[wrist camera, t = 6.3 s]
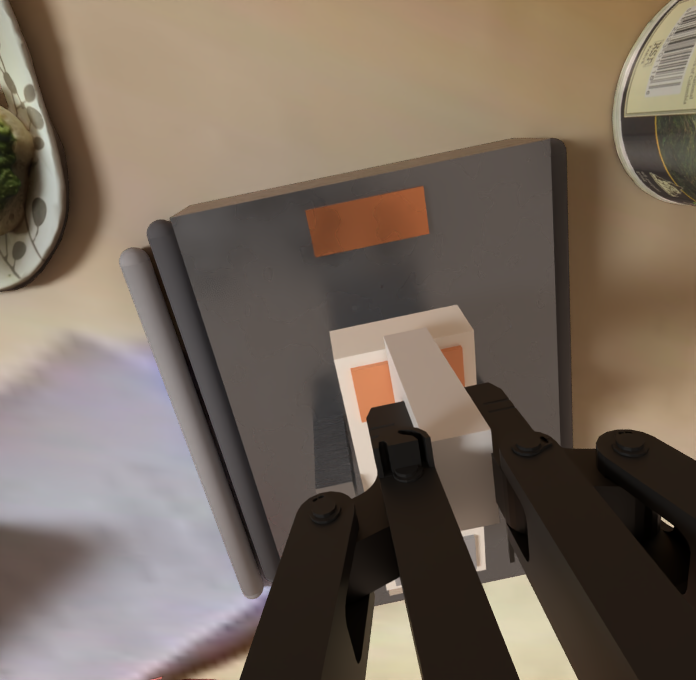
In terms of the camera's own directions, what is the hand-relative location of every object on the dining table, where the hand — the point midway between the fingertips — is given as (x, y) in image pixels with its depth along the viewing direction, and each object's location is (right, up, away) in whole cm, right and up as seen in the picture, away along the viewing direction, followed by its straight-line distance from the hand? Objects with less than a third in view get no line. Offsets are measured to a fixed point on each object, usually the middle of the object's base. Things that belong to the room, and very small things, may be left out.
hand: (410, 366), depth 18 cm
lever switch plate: (0, -2, +11) cm, 12 cm away
